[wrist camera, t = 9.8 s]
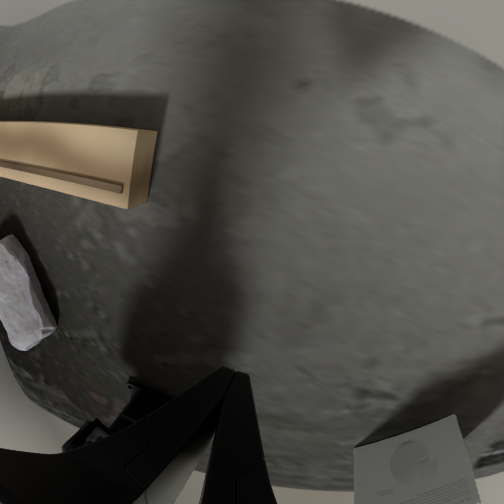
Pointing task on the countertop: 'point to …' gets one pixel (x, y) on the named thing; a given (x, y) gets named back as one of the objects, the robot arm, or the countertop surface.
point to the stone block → (22, 297)
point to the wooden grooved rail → (80, 159)
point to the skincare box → (416, 468)
